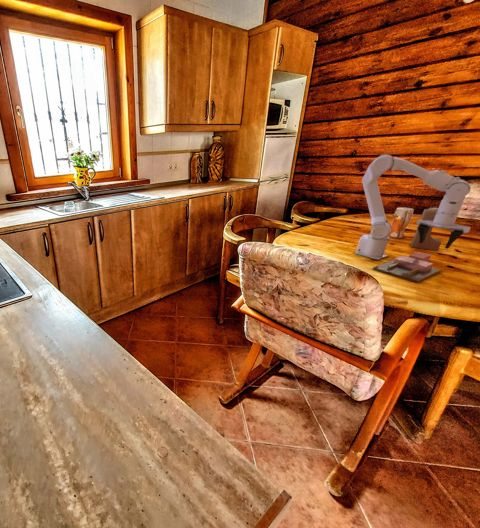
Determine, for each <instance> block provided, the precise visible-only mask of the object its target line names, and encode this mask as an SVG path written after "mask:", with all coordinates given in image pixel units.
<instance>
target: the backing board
mask: <svg viewBox="0 0 480 528" xmlns="http://www.w3.org/2000/svg"><path fill="white" fill-rule="evenodd" d="M433 266H434V263H433V262H429V261H428V262H426V261H422V260H418V259H414V258H410V257H409V256H407V255H400V256H397V257H395V258H394V259H392V260H389V261H387V262H384V263H381V264H379V265H377V266H374V267H373V271H377V272H379V273H383V274H386V275H390V276H393V277H396V278H399V279H403V280H406V281H409V282H413V283H415V284H417V283H420V282H422V281H424V280H427V279H428V278H430V277H432V276H434V275H437V274H439V273H440V272H441V269H439V268H435V267H433Z"/></svg>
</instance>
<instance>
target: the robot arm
mask: <svg viewBox="0 0 480 528" xmlns="http://www.w3.org/2000/svg"><path fill="white" fill-rule="evenodd" d="M390 169H391V170H390ZM388 170H390V171H402V172H405V173H407V174H410V175H412V176H414V177H417V178H419V179H421V180H422V184H423V185H426V186H428V187H430V188H432V189H434V190H437V191H439V192H445V193H444V195H443V198H442V199H441V201H440V203H439V205H438V207H437V208H438V211H437V213H436V215H435V218H434V220H433V221H428V220H420V219H418V220H417V221H416V223H415V225H416V226H417V227H418V225H419V227H418V231H419V235H420V241H419V243H423V242H424V240H425V237H426V234H427V232H428V230H429V229H430V227H433V228H436V229H442V230H448V231H451V232H450V234H449V238H448V241H447V243H446V244H445V246H444V249H446V250H448V249H449V248H450V247H451V246H452V244H454V242H455V241H457V240H458V238H460V237H461V236H463V234H468V233H469V232H470V230H471V226H466V225H462V224H456V220H457V218H458V215H459V213H460V212H461V209H462V207H463V204H464V201H465V199H466V197H467V196H468V195H469V194H470V193H471V184H469V182H467V181H466V180H465V179H461V177H459V176H456V177H455V176H453V175H450V174H448V173H446V172H447V171H446V170H443V169H441V170H439V169H435V170H434V169H433V170H428V169H426V168H423V167H421V166H419V165H417V164H415V163H413V162H411V161H408V160H407V159H404V158H400V157H397V156H393V155H391V154H387V153H385V154H381V155H379V156H377V158H375V159H374V160H373V161H372V162H371V163H370V164H369V165H368V167H367V169H366V171H365V173H364V175H363V176H362V179H361V182H362V186H363V191H364V195H365V199H366V203H367V206H368V211H369V215H370V223H371V230H370V233H368V234H362V235H361V236H360V238H359V240H358V243H357V247H356V249H355V250H356V251H355V252H354V254H355V255H358V256H359V255H360V256H363V257H366V258H370V259H374V260H377V261H379V260H381V259H384V258H387V257H388V255H387V254H385V252H386V249H387V246H388V244H389V240H390V237H389V236H388V235H389V234H390V231H391V228H392V223H391V222H389V221H388V217H387V216H386V212H385V209H384V205H383V201H382V200H383V199H382V196H381V193H380V188H379V183H378V179H379V178H380V177H381V176H382V175H383V174H384V173H386V171H388Z"/></svg>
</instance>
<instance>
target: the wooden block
mask: <svg viewBox="0 0 480 528" xmlns="http://www.w3.org/2000/svg"><path fill="white" fill-rule="evenodd" d="M437 211H438V210H431V209H429V208H424V210H423V212H422V214H421V217H420V218H419V220H428V221H433V220H434V218H435V215H436V213H437ZM418 227H419V225H417V227H416V230H415V232H414V235H413V238H412V241H411V244H410V246H411V248H414V249H421V250H428V251H435V252H436V251H439V249H440V247H441V244H442V240H441V239H440V238H436V237H434V236H432V234H431V233H432V230H433V228H434V227H430V229H429V230H428V232H427V234H426V237H425V240H424V242H423V243H419V241H420V235H419V231H418Z"/></svg>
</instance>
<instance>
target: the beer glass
mask: <svg viewBox="0 0 480 528" xmlns="http://www.w3.org/2000/svg"><path fill="white" fill-rule="evenodd" d="M414 211H415V209H414V208H411V207H404V206H403V207H402V206H401V207H396V208H395V211H394V213H393V216H392V221H391V230H390V234H389V235H388V236H389V238H394V239H403V238H404V234H405V231H406V229H407V227H408V226H409V223H410V222H411V221H412V218H413V215H414Z"/></svg>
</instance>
